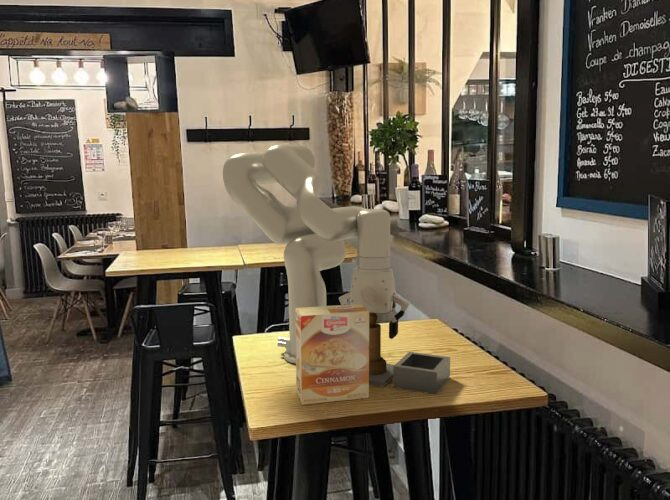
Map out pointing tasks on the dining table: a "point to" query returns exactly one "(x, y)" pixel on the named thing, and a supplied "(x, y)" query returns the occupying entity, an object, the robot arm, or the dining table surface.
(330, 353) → the coffeecake box
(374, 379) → the coaster
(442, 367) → the open square box
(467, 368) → the dining table surface
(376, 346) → the wooden pepper mill
